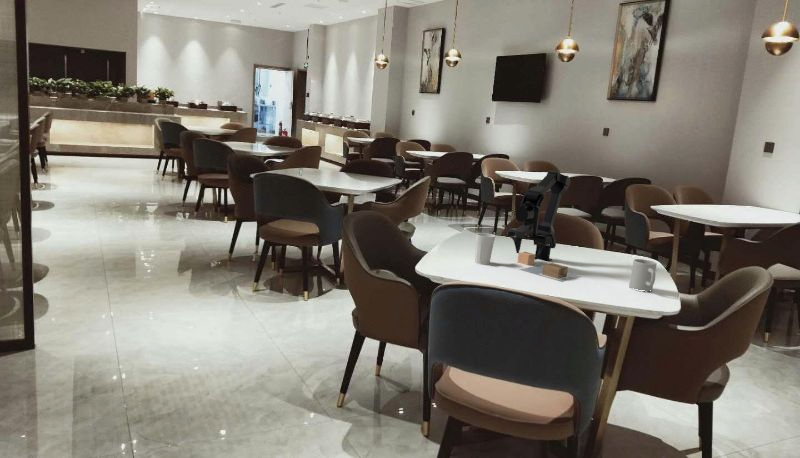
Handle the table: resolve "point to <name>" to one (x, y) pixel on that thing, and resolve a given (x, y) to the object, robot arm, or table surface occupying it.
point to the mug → (643, 274)
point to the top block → (526, 258)
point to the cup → (484, 248)
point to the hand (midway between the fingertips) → (526, 255)
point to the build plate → (538, 271)
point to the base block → (554, 270)
